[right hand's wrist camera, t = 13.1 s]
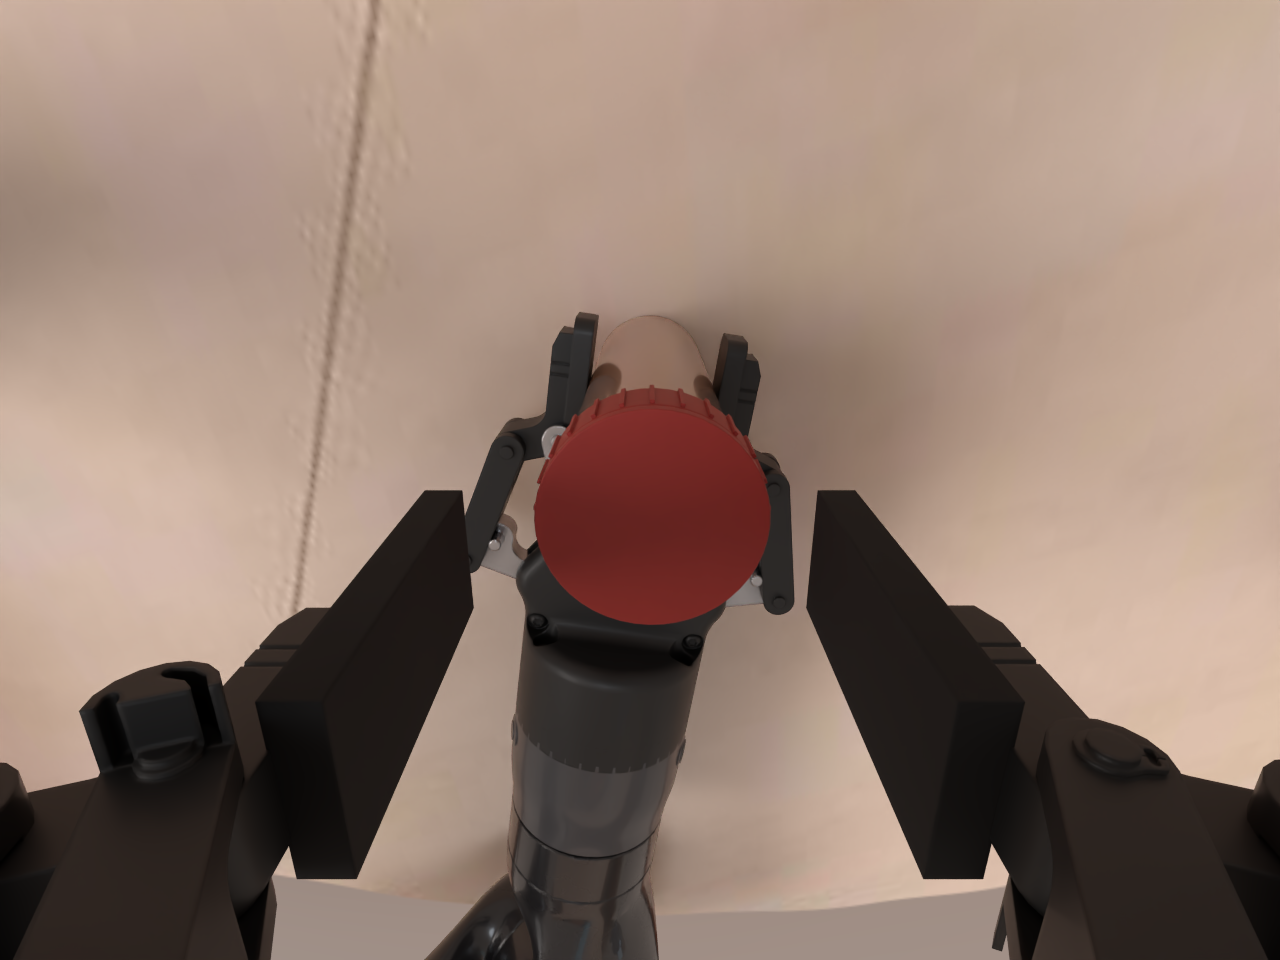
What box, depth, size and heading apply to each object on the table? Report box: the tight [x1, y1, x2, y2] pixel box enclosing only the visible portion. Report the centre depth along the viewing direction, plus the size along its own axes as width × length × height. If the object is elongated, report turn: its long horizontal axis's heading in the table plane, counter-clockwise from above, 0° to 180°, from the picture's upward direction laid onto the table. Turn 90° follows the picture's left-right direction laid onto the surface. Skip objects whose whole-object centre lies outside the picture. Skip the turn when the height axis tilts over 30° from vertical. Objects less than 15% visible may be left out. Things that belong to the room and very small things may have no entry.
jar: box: [578, 316, 723, 416], centre depth 23 cm, size 5×5×16 cm
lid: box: [534, 385, 771, 625], centre depth 16 cm, size 5×5×2 cm
